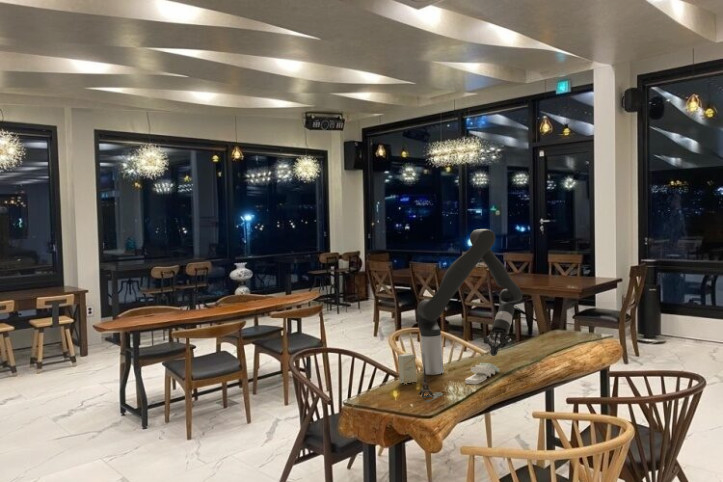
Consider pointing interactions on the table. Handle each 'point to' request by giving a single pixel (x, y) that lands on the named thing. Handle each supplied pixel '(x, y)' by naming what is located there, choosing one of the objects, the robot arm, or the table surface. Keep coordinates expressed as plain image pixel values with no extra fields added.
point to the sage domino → (490, 366)
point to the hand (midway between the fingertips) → (492, 354)
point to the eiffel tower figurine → (428, 390)
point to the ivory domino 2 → (475, 379)
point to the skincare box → (407, 368)
